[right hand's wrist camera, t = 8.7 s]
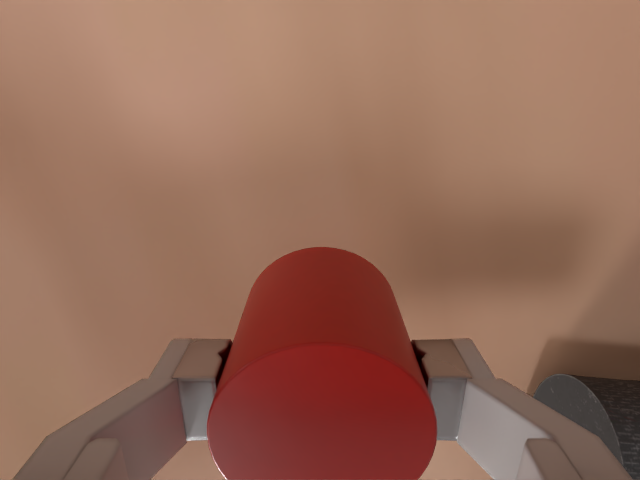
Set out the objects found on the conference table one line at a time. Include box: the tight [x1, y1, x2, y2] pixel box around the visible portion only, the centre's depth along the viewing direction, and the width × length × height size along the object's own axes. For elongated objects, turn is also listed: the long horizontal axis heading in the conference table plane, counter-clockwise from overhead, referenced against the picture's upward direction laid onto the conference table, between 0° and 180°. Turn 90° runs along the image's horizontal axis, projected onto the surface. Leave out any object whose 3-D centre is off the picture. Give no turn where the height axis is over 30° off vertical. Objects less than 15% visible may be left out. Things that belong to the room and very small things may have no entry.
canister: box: [207, 247, 437, 480], centre depth 10 cm, size 5×5×5 cm
